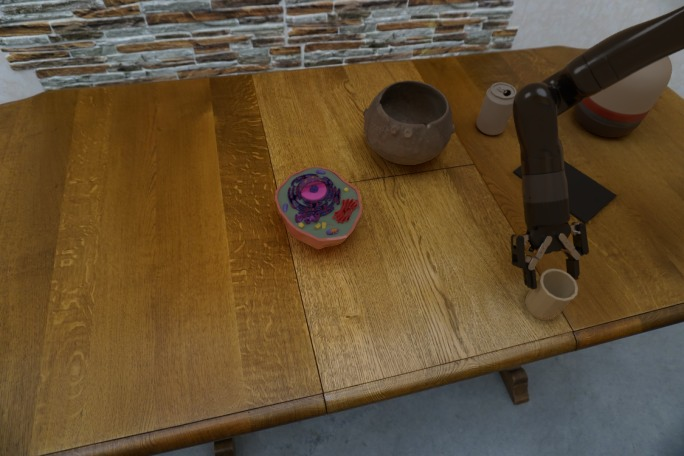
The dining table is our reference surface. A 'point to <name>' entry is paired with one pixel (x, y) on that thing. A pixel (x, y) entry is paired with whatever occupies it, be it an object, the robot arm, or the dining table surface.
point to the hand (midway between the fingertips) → (552, 283)
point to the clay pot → (408, 122)
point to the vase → (624, 101)
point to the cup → (551, 294)
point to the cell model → (319, 206)
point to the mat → (582, 193)
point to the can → (496, 108)
